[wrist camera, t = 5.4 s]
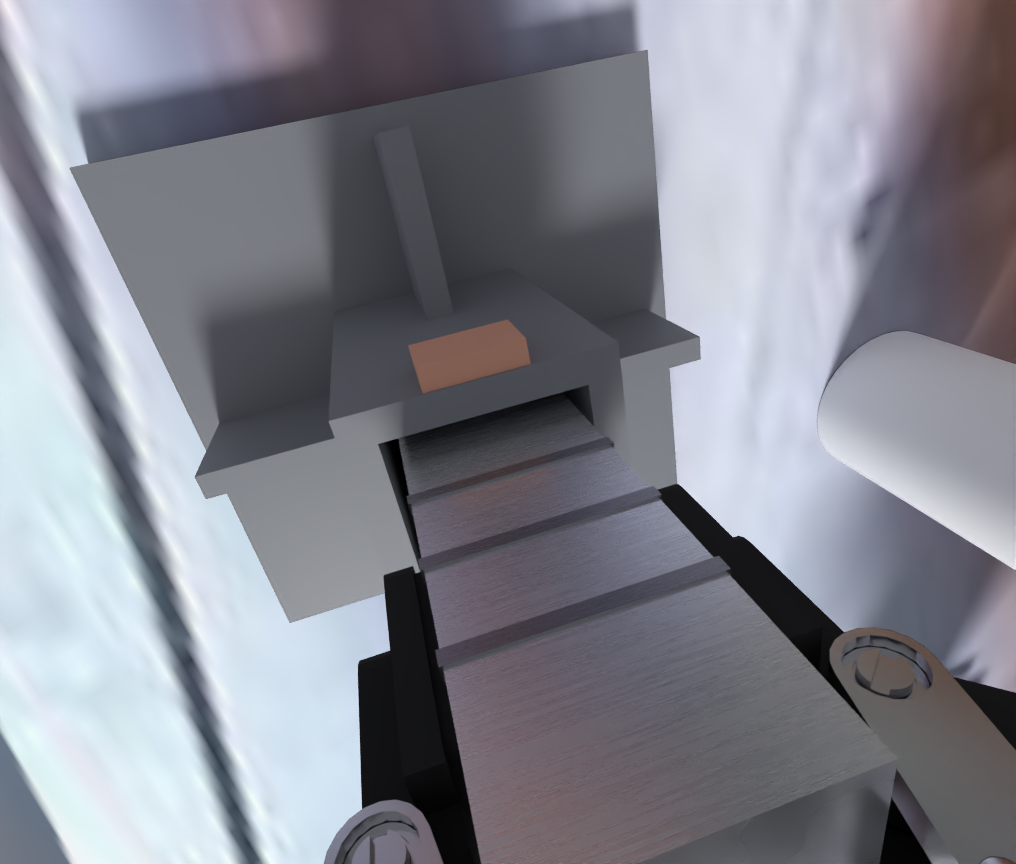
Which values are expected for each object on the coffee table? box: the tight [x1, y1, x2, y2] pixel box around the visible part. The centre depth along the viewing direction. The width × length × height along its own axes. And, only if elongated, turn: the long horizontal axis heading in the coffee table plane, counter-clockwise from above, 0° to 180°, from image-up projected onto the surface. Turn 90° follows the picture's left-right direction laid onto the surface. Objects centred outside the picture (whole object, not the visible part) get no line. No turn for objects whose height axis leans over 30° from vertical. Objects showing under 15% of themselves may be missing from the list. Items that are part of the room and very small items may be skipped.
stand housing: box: [70, 50, 701, 623], centre depth 19 cm, size 18×18×11 cm
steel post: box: [398, 392, 898, 864], centre depth 14 cm, size 4×4×18 cm
